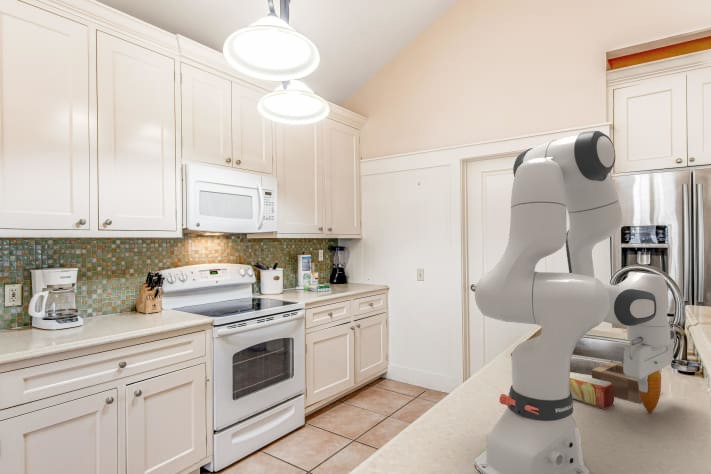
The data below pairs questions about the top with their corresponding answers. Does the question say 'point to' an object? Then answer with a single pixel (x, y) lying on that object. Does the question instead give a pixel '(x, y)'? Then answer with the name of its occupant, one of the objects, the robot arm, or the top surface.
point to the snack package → (592, 391)
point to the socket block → (618, 381)
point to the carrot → (652, 391)
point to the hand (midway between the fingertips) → (649, 388)
